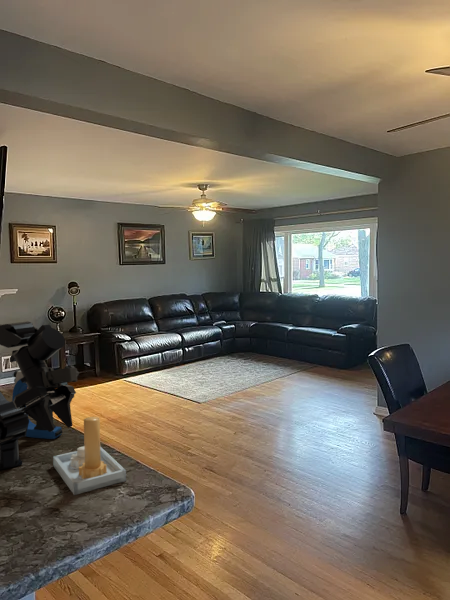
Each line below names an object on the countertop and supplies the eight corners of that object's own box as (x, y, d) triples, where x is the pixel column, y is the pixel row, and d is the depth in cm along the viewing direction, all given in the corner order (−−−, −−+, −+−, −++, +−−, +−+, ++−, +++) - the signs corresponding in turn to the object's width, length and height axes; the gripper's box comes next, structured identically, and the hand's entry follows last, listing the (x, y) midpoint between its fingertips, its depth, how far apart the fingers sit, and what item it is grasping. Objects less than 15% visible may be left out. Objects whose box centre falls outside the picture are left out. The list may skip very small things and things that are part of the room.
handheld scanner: (61, 440, 133) (60, 372, 132) (11, 436, 136) (10, 370, 135) (69, 435, 137) (68, 369, 136) (21, 431, 140) (20, 367, 139)
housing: (53, 466, 116) (52, 446, 115) (100, 455, 122) (99, 437, 122) (74, 495, 101) (73, 473, 100) (126, 480, 108) (125, 460, 107)
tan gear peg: (73, 475, 108) (72, 420, 107) (93, 465, 113) (92, 413, 112) (91, 481, 104) (90, 425, 103) (112, 471, 109) (111, 417, 109)
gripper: (44, 350, 100) (74, 414, 97) (80, 354, 119) (106, 408, 116) (0, 375, 101) (28, 440, 97) (42, 376, 119) (68, 431, 116)
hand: (61, 428), depth 107 cm, fingers open, 9 cm apart
